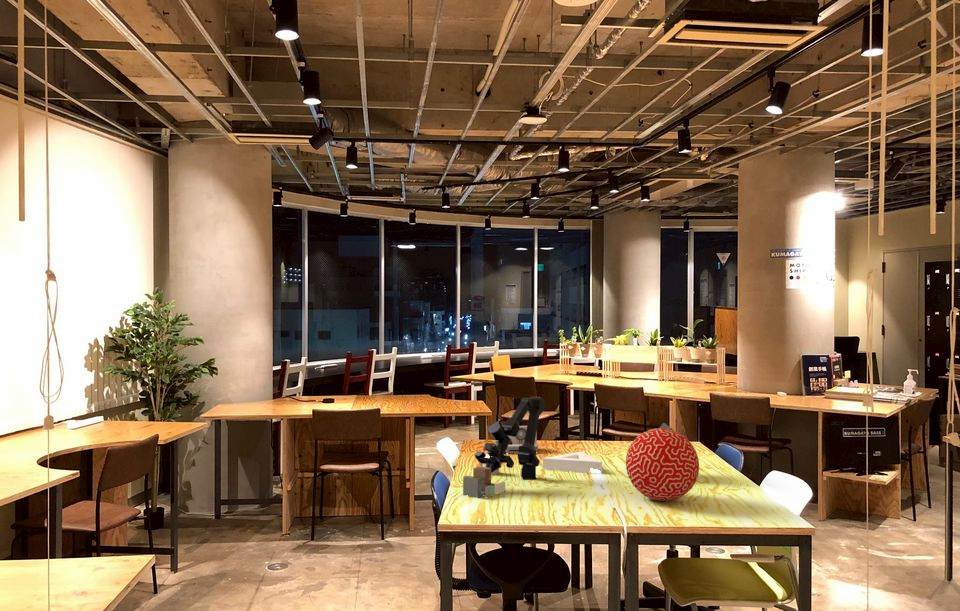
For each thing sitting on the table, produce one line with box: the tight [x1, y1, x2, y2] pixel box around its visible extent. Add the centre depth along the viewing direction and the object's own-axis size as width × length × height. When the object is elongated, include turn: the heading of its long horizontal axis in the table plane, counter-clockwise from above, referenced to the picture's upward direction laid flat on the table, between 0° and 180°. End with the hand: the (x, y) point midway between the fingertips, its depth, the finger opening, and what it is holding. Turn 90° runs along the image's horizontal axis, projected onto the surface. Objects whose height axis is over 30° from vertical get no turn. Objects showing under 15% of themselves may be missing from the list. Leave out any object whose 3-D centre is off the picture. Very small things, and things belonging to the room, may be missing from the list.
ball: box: [625, 427, 700, 502], centre depth 301 cm, size 30×30×30 cm
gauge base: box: [481, 481, 506, 498], centre depth 313 cm, size 14×11×4 cm
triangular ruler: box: [542, 450, 603, 474], centre depth 370 cm, size 30×26×6 cm
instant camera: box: [506, 425, 539, 453], centre depth 415 cm, size 21×21×15 cm
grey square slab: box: [462, 475, 481, 498], centre depth 308 cm, size 2×8×8 cm, turn 52°
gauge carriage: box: [472, 465, 496, 491], centre depth 312 cm, size 5×11×9 cm, turn 52°
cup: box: [478, 453, 500, 475], centre depth 354 cm, size 7×10×9 cm
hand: (486, 475), depth 316 cm, fingers closed
